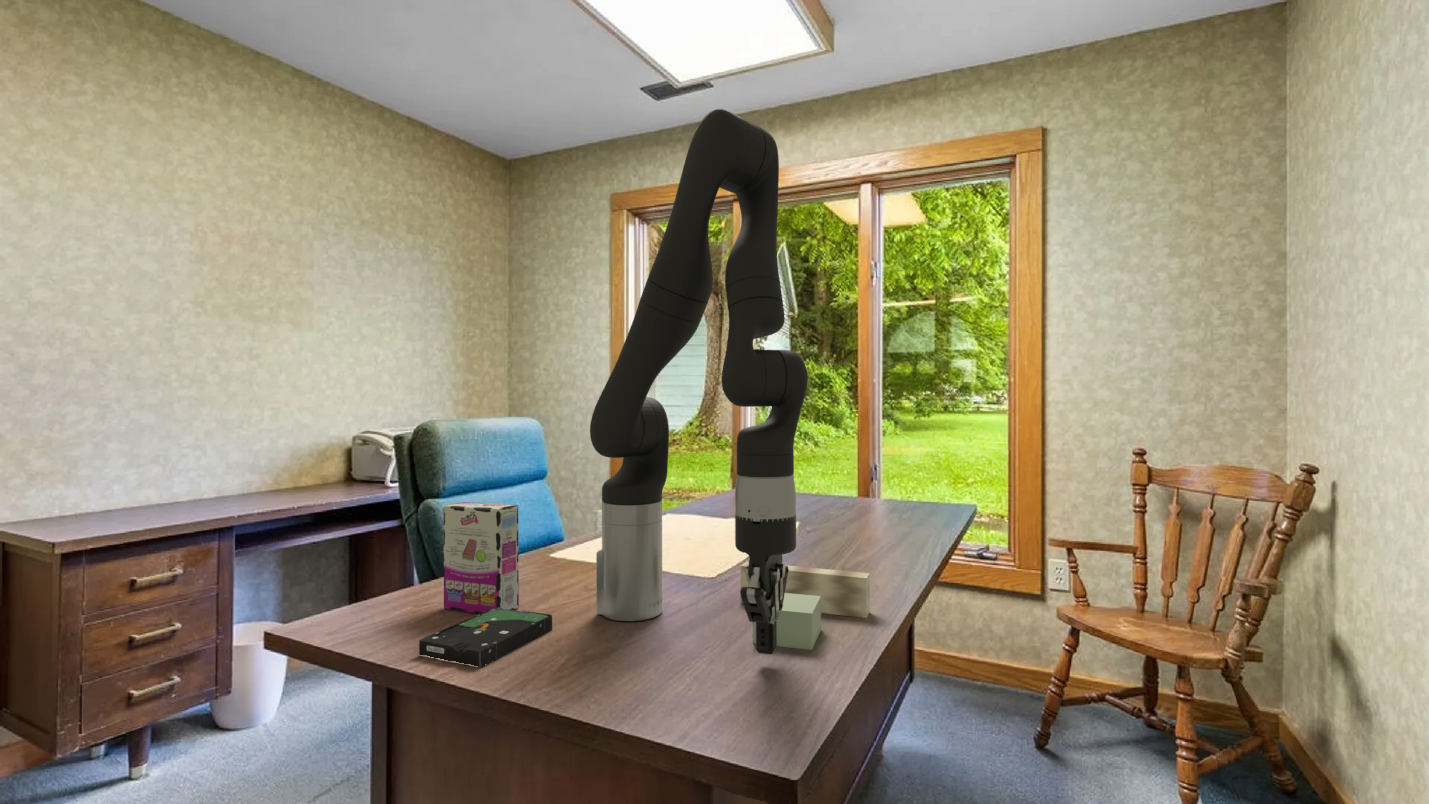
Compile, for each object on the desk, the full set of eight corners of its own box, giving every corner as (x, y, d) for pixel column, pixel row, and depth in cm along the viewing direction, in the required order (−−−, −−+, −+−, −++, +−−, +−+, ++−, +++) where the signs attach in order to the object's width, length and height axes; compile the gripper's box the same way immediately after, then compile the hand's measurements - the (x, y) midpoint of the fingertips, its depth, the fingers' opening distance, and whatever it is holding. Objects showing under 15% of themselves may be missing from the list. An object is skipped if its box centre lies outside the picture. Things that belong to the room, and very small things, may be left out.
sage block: (752, 644, 90) (752, 607, 89) (766, 625, 97) (766, 591, 97) (811, 651, 87) (812, 613, 87) (820, 631, 95) (821, 596, 95)
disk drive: (482, 674, 81) (553, 632, 95) (481, 651, 81) (553, 612, 95) (417, 661, 85) (495, 623, 99) (417, 639, 85) (495, 604, 99)
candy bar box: (520, 608, 104) (520, 504, 104) (499, 618, 100) (498, 509, 100) (465, 600, 109) (464, 500, 109) (441, 609, 104) (441, 504, 104)
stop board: (740, 603, 107) (740, 565, 107) (746, 597, 110) (746, 561, 110) (866, 618, 99) (866, 578, 99) (869, 612, 102) (869, 573, 102)
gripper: (753, 502, 89) (753, 630, 89) (717, 518, 77) (719, 667, 77) (807, 504, 87) (808, 637, 87) (780, 522, 74) (781, 677, 74)
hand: (766, 651), depth 82 cm, fingers closed
